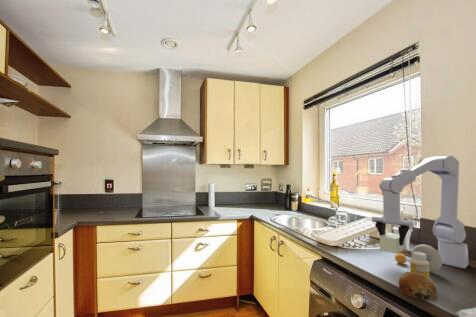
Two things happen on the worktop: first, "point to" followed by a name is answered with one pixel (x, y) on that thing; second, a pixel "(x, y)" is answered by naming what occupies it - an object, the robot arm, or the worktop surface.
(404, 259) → the ball
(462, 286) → the worktop surface
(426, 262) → the supplement bottle
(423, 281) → the bread roll
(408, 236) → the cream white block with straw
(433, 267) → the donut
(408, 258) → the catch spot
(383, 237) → the cream white block
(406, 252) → the grey brown bar
